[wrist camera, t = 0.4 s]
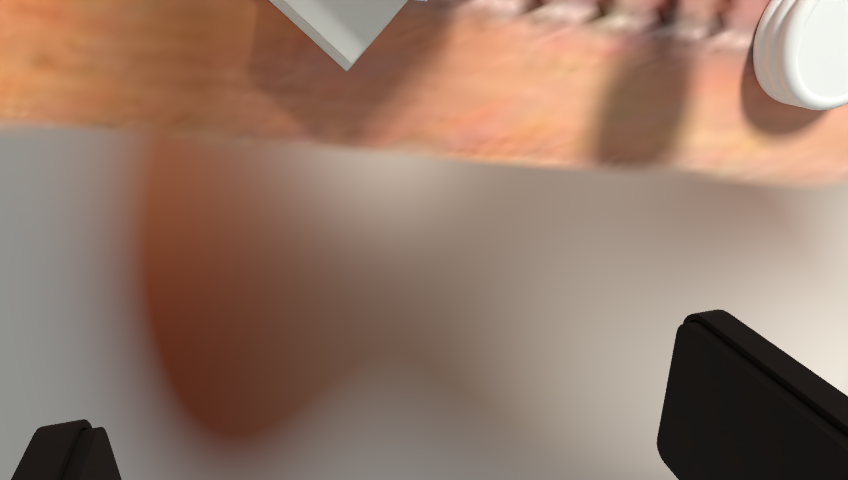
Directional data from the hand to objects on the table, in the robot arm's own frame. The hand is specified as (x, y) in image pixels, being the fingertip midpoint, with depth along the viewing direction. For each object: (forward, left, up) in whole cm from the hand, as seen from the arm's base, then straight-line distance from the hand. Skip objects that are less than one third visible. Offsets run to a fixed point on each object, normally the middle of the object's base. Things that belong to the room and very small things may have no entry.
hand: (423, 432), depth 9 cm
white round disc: (-28, +25, -30) cm, 48 cm away
